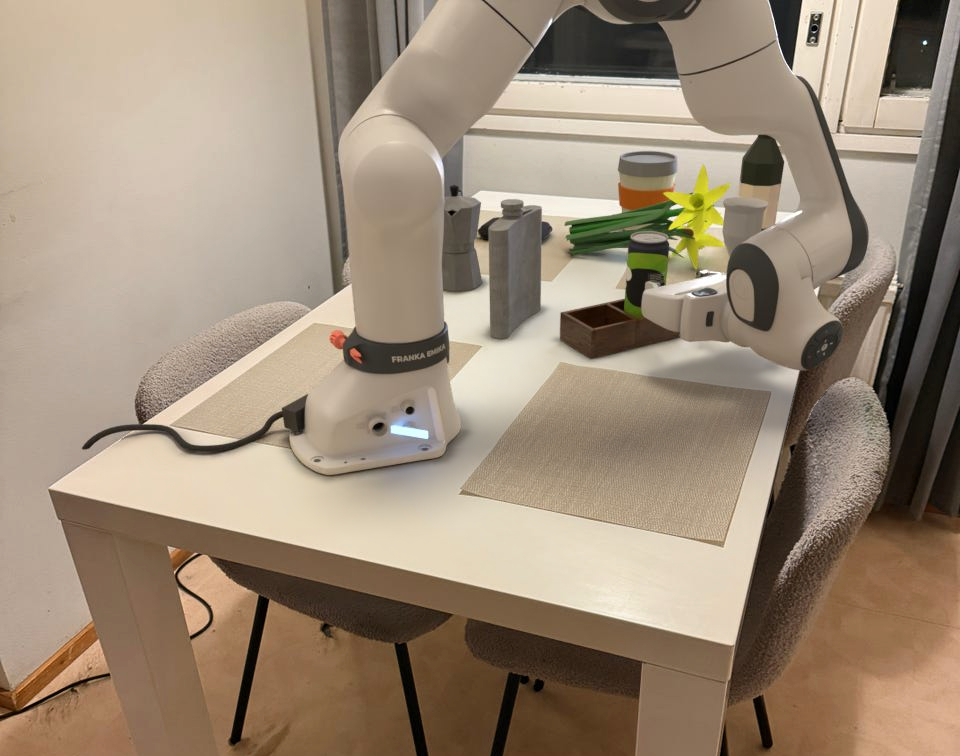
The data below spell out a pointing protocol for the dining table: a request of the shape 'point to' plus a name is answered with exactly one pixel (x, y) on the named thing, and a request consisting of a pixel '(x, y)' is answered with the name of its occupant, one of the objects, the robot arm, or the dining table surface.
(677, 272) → the dining table surface
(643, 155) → the reusable coffee cup
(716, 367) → the dining table surface
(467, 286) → the coffeepot
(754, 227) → the chalice
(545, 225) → the carrying case
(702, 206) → the daffodil flowers
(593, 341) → the divided box
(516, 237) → the hip flask
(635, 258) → the beverage can
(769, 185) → the wine bottle
